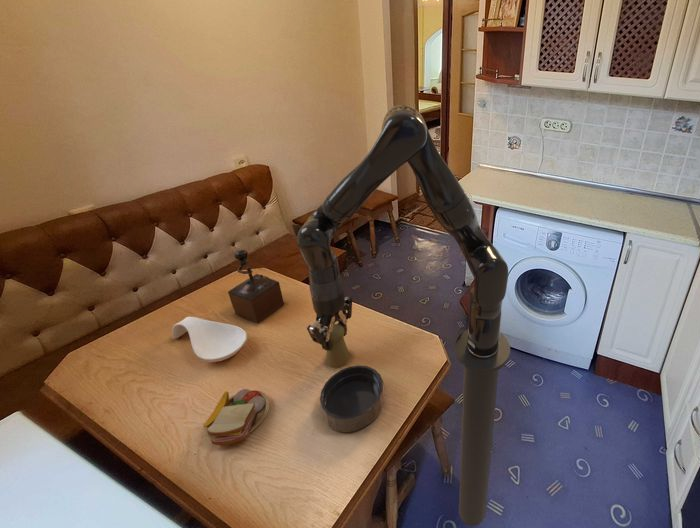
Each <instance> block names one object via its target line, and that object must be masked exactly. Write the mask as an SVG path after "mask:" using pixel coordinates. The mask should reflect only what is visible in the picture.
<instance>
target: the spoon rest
mask: <svg viewBox="0 0 700 528" xmlns="http://www.w3.org/2000/svg"><path fill="white" fill-rule="evenodd" d="M187 332H188V336H189V340H190V344H191V348H192V350H193V352H194V354H195V355H196V356H197V357H198V358H199V359H200V360H201V361H204V362H210V363H212V362H213V363H217V362H221V361H226V360H228V359H229V358H231V357H233V356H234V355H236V354H237V353H238V352H239V351H240V350H241V349H242V348H243V347H244V345H245V344H246V342H247V340H248V334H247V331H245V329H243V328H242V327H240V326H237V325H234V324H229V323H225V322H219V321H213V320H209V319H204V318H200V317H196V316H186V317H185V318H184V319H182V320H181V321H178V322H177V323H175V324H174V325H173V326H172V329H171V338H172V339H173V340H174V339H179V338H180V337H181V336H183V335H185V334H186V333H187Z"/></svg>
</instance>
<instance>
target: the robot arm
mask: <svg viewBox="0 0 700 528" xmlns="http://www.w3.org/2000/svg"><path fill="white" fill-rule="evenodd" d="M406 163H407V164H408V165H409V167H410V168H411V171H412V172H413V174H414V176H415V180H416V181H417V184H418V187H419V190H420V191H421V194H422V196H423V199H424V201H425V203H426V205H427V206H428V209H429V210H430V212H431V213H432V215H433V217H434V218H435V219H436V220H437V223H438V224H439V225H440V226H441V228H442V230H444V231H445V232H446V233H447V234H448V235H449V236H450V237H451V238H452V239H453V240H454V241H455V242H456V244H457V245H458V247H459V249H460V250H461V252H462V254H463V257H464V258H465V259H464V260H465V261H466V263H467V266H468V269H469V271H470V273H471V274H472V277H473V279H474V284H473V287H472V288H471V289H470V291H469V298H468V321H467V322H468V323H467V330H468V341H467V349H468V351H469V353H470V354H471V355H473V356H474V357H476V358H479V359H488V358H491V357H493V356H495V355H496V354H497V352H498V348H499V333H501V323H502V322H501V321H502V309H503V300H504V299H505V297H506V294H507V289H508V282H509V266H508V264H507V262H506V261H505V259H504V258H503V256H502V254H501V253H500V251H499V250H498V249H497V248H496V247H495V245H494V244H493V243H492V242H491V240H489V238H488V237H487V236H486V234H485V233H484V231H483V229H482V228H481V226H480V224H479V220H478V216H477V213H476V211H475V208H474V206H473V204H472V202H471V200H470V198H469V197H468V195H467V193H466V191H465V189H464V188H463V187H462V184H460V182H459V180H458V179H457V177H456V176H455V174H454V172H453V171H452V170H451V168H450V167H449V166H448V164H447V162H446V161H445V160H444V158H443V157H442V156H441V153H440V152H439V150H438V148H437V147H436V144H435V142H434V140H433V137H432V135H431V133H430V131H429V129H428V126H427V123H426V121H425V119H424V116H423V115H422V114H421V112H420V111H419V110H417V109H416V108H414V107H412V106H410V105H406V104H397V105H395V106H392V107H391V108H389V110H388V111H387V112H386V114H385V115H384V117H383V120H382V125H381V131H380V133H379V135H378V137H377V139H376V140H375V142H374V144H373V146H372V147H371V149H370V150H369V152H368V153H367V155H366V156H365V157H364V158H363V159H362V160H361V162H360V163H359V164H358V165H356V166H355V167H354V168H353V169H351V170H350V171H349V172H348V173H347V174H346V175H345V176H344V177H342V179H340V181H339V182H338V183H337V184H336V185H335V186H334V188H332V190H331V191H330V192H329V193H328V195H327V196H326V197H325V199H324V200H323V201H322V203H321V204H320V205H319V206H318V207H317V208H316V209H315V210H314V211H313V212H312V213H311V215H310V216H309V217H308V218H307V220H306V221H305V222H304V223H303V225H302V226H301V227H300V229H299V230H298V232H297V236H296V244H297V245H296V246H297V249H298V251H299V253H300V255H301V257H302V259H303V262H304V263H305V265H306V269H307V270H306V271H307V274H308V275H307V276H308V280H309V283H308V284H309V291H310V297H311V301H312V307H313V308H312V309H313V311H314V312H315V315H316V317H315V322H314V323H313V324H312V325H311V324H309V325H307V326H306V330H307V332H308V334H309V336H310V338H311V340H312V342H314V343H316V344H318V345H320V346H321V349H322V350H325V351H326V352H327V351H330V350H331V349H332V348H331V342H330V339H329V338H330V332H332V329H333V325H334V324H336V323H337V324H339V325H341V326H342V327H343V328H344V332H345V333H344V337H345V336H346V335H347V334H348V333H347V332H348V326H347V324H348V320H349V319H351V318H352V315H353V298H351V297H350V296H346V295H345V293H344V292H345V291H344V285H343V278H342V276H341V271H340V266H339V259H338V256H337V254H336V253H335V251H332V249H331V242H332V240H333V238H334V237H335V235H336V234H337V232H338V231H339V229H340V228H341V227H342V226H343V225H344V224H345V223H347V222H349V221H350V220H351V219H352V218H353V216H355V215H356V213H357V212H358V211H359V210H360V209H361V208H362V206H364V204H365V203H366V202H367V201H368V200H369V199H370V197H371V196H372V195H373V194H374V193H375V192H376V191H377V189H378V188H379V187H380V186H381V185H382V184H383V183H384V182H385V181H386V180H387V179H388V178H389V177H390V176H392V175H393V174H394V173H395V172H396V171H397V170H398V169H400V168H401V167H402V166H403V165H405V164H406ZM327 327H328V328H327ZM324 332H325V335H324Z"/></svg>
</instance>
